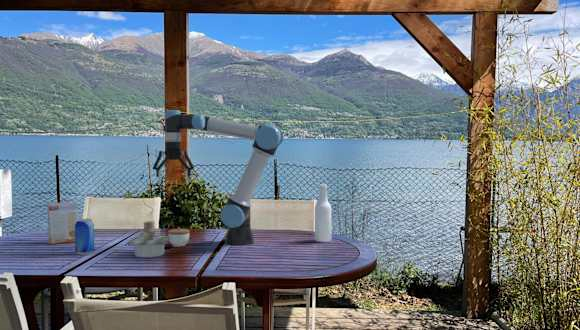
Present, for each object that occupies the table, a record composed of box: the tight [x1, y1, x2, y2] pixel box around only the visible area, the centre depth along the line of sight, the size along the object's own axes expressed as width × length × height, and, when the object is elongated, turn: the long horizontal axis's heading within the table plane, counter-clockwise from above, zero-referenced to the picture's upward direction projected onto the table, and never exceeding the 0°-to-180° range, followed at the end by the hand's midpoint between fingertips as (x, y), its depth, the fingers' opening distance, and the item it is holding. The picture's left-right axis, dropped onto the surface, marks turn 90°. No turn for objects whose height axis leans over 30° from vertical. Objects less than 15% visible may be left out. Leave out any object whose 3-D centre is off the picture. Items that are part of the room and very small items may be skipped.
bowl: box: [134, 243, 165, 258], centre depth 253 cm, size 13×13×6 cm
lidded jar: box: [167, 226, 191, 248], centre depth 273 cm, size 11×11×9 cm
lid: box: [126, 220, 170, 246], centre depth 253 cm, size 16×16×9 cm
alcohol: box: [314, 183, 332, 243], centre depth 284 cm, size 9×9×30 cm
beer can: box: [74, 218, 95, 256], centre depth 254 cm, size 8×8×16 cm
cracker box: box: [46, 201, 79, 245], centre depth 281 cm, size 14×6×21 cm, turn 123°
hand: (173, 183), depth 270 cm, fingers open, 13 cm apart
